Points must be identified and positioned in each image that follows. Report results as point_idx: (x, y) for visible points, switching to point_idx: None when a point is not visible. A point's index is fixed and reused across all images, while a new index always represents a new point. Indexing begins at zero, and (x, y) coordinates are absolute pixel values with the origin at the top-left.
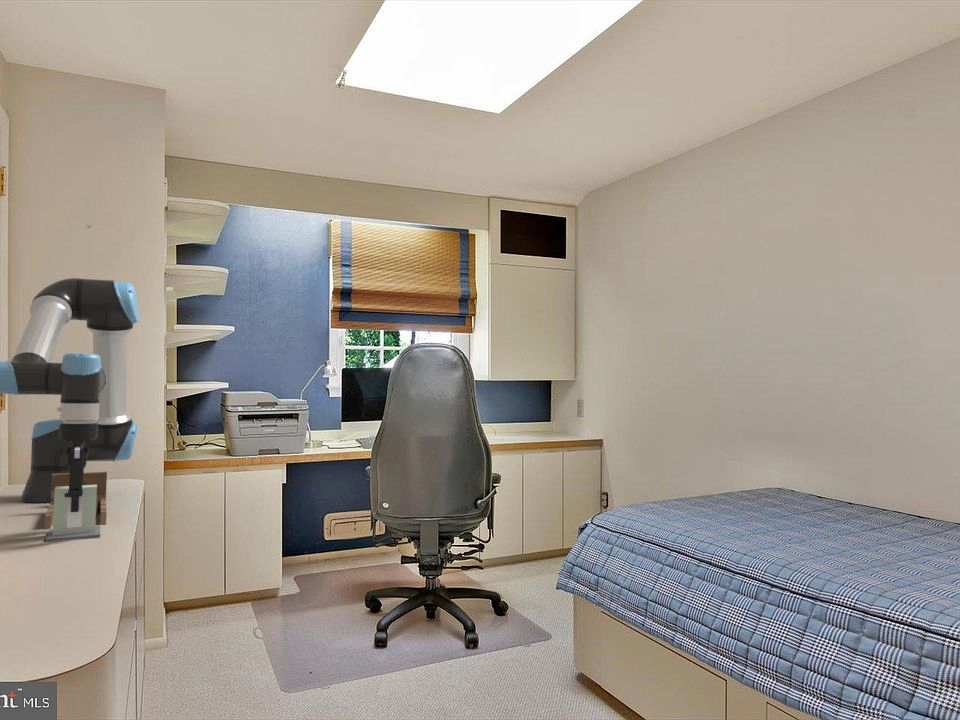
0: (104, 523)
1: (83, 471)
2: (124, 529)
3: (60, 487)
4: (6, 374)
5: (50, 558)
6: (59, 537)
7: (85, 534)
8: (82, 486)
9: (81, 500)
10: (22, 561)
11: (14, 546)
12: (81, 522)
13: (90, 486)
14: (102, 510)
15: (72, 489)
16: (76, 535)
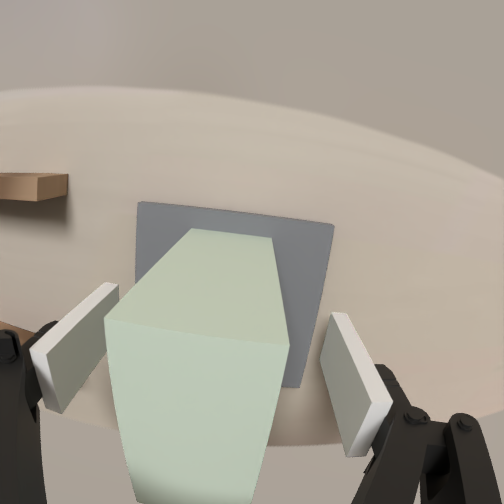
0: (65, 179)
1: (10, 463)
2: (211, 112)
3: (185, 501)
4: None
5: (494, 360)
6: (302, 356)
7: (301, 276)
8: (186, 426)
9: (384, 388)
10: (475, 403)
11: (310, 437)
12: (333, 318)
13: (216, 384)
14: (12, 192)
15: (450, 470)
16: (301, 306)
